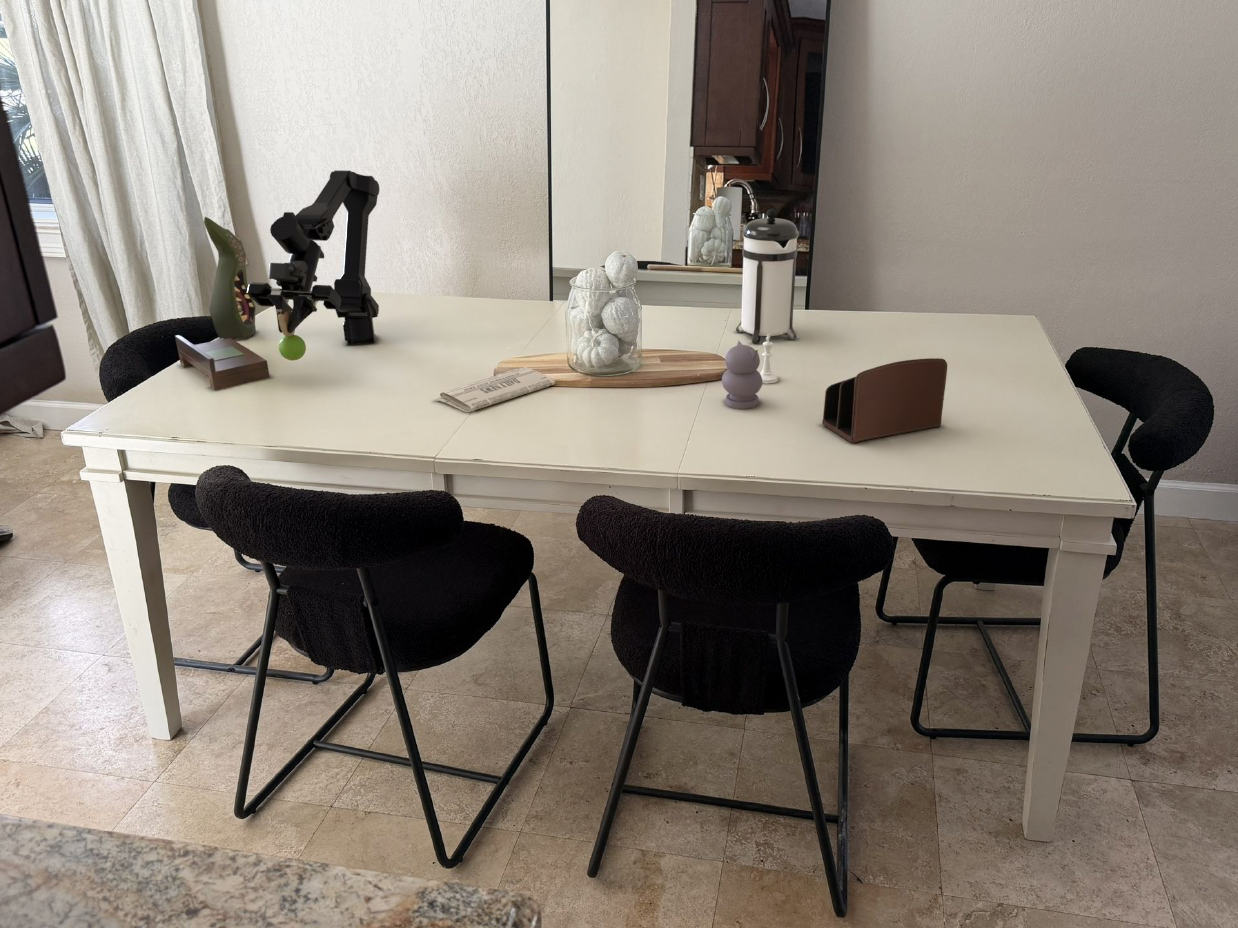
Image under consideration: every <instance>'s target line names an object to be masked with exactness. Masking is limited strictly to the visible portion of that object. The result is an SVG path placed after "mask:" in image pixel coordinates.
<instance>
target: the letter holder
mask: <svg viewBox="0 0 1238 928" xmlns="http://www.w3.org/2000/svg"><path fill="white" fill-rule="evenodd" d="M947 375H948V362H947V361H946V359H944V358H939V357H938V358H935V357H934V358H933V357H931V358H930V357H929V358H915V359H907V360H900V361H895V362H891V363H886V364H881V365H879V366H875V367H872V368H869V369H865V370H863V371H861V372H859V373H858V374H857V375H856V376H853V377H850V378H847V379H845V380H842V381H841V380H840V381H839V382H836V383H833V384H831V385H829V386H827V387H826V389H825V391H824V392H825V393H824V403H823V414H822V421H821V423H822V426H824V427H826V428H827V429H829V430H830V431H832V432H833V433H835V434H837V435H838V436H840V437H842V438H843V439H844V440H846V441H848V442H849V443H851V444H855V443H860V442H865V441H869V440H874V439H880V438H884V437H891V436H897V435H902V434H908V433H912V432H918V431H924V430H927V429H928V430H929V429H934V428H940V427H941V426H942V418H943V409H944V401H945V392H946V384H947Z"/></svg>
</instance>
